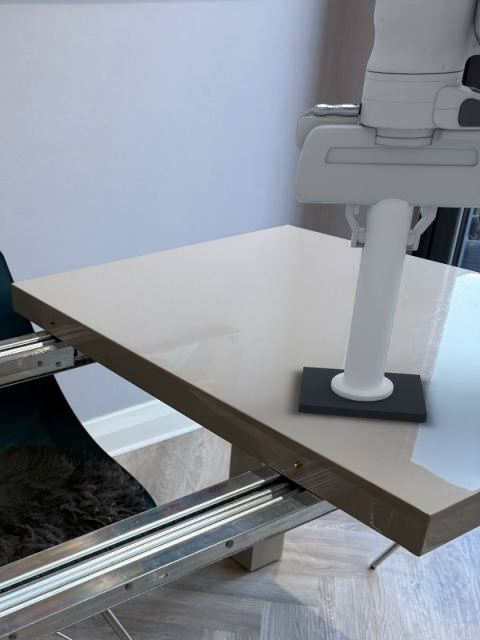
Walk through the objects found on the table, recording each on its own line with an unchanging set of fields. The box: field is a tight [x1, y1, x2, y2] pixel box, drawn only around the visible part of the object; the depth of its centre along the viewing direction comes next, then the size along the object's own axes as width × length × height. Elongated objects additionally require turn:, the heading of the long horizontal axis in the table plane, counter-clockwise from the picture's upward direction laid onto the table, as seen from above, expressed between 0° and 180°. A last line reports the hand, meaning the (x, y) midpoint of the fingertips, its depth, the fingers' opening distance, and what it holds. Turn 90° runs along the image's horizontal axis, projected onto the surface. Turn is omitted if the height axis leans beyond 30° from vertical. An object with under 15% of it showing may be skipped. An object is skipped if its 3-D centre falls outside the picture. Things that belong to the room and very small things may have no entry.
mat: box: [297, 366, 428, 423], centre depth 94 cm, size 14×11×1 cm
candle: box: [331, 198, 415, 401], centre depth 86 cm, size 7×7×25 cm
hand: (383, 247), depth 84 cm, fingers closed on candle, 4 cm apart
